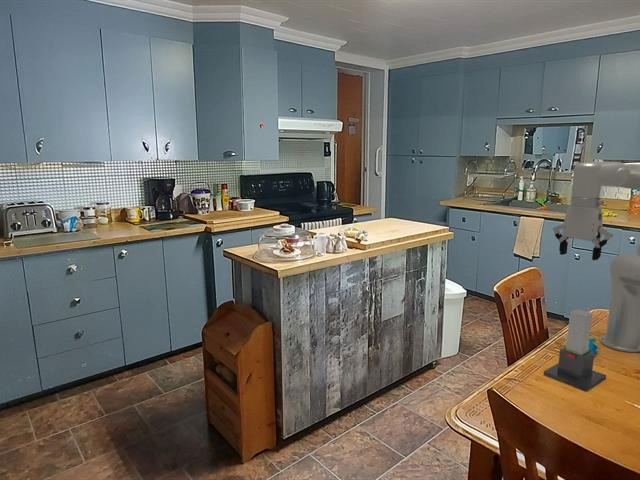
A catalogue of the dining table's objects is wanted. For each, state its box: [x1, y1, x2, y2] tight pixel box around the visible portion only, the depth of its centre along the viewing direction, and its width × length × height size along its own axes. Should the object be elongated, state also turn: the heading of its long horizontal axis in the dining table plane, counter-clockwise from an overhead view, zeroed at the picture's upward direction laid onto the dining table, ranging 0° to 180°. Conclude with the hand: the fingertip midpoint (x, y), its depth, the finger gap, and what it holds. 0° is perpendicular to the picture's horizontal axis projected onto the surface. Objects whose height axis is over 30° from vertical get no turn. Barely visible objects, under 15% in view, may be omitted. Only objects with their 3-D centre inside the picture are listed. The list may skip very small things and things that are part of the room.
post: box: [565, 308, 593, 356], centre depth 127 cm, size 4×4×14 cm
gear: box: [589, 333, 600, 357], centre depth 147 cm, size 11×6×10 cm
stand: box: [543, 346, 607, 393], centre depth 129 cm, size 12×12×8 cm
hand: (578, 256), depth 140 cm, fingers open, 9 cm apart
